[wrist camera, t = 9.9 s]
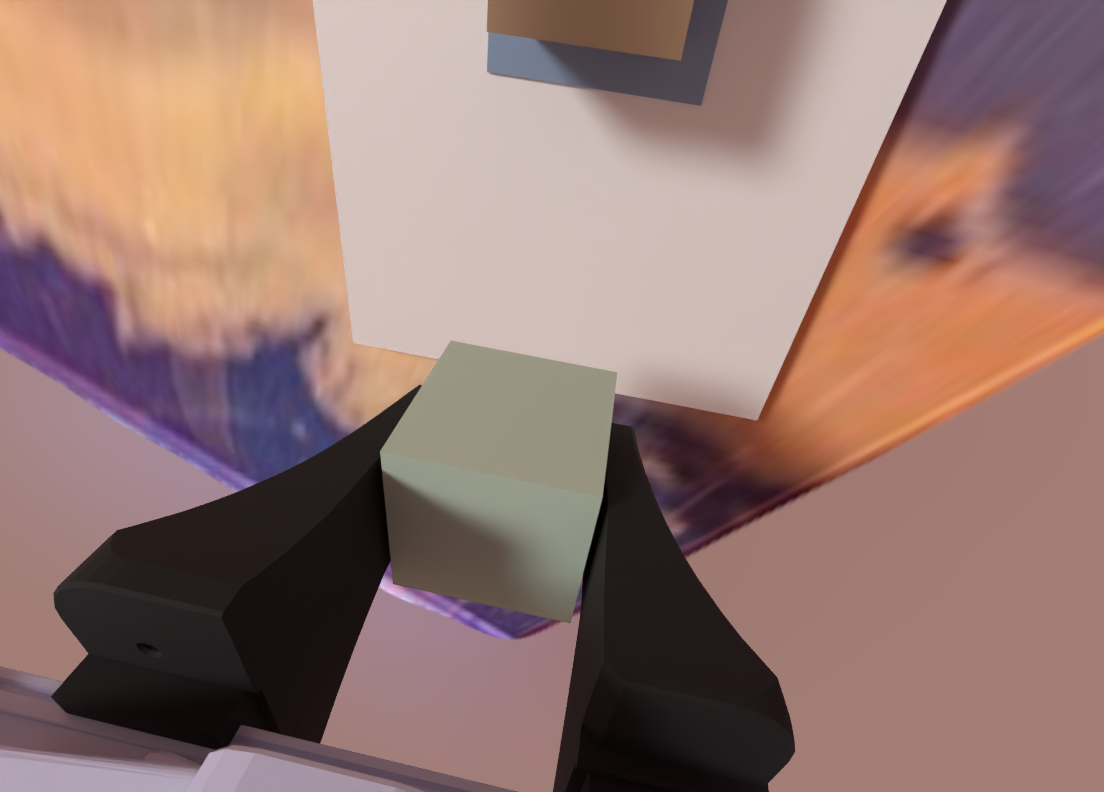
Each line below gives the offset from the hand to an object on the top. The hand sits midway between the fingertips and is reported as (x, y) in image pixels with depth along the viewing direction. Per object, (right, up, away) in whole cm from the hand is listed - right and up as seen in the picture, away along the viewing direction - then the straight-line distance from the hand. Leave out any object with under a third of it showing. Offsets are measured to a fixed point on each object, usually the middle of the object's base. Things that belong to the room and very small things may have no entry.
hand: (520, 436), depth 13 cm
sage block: (0, 0, +1) cm, 1 cm away
